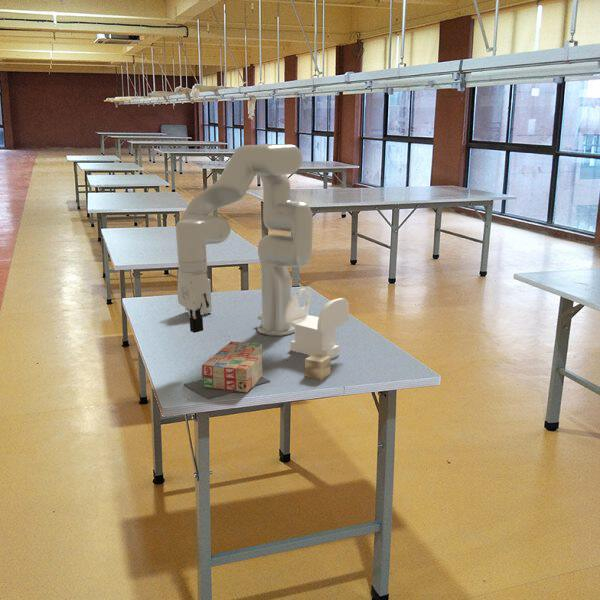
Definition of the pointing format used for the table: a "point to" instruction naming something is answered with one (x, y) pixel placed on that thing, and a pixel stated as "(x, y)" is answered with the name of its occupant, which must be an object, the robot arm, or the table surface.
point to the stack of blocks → (234, 367)
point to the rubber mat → (211, 393)
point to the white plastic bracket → (316, 325)
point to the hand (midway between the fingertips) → (196, 331)
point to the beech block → (317, 366)
